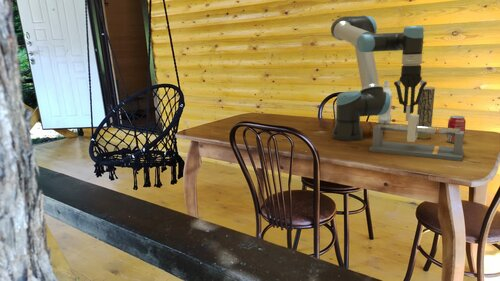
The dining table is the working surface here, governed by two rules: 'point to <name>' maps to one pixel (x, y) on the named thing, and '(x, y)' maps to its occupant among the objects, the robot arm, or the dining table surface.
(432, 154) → the pipe stand
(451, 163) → the dining table surface
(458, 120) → the soda can
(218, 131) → the dining table surface
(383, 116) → the water bottle
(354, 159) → the dining table surface
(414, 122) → the collar
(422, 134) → the wooden log
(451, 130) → the pipe
